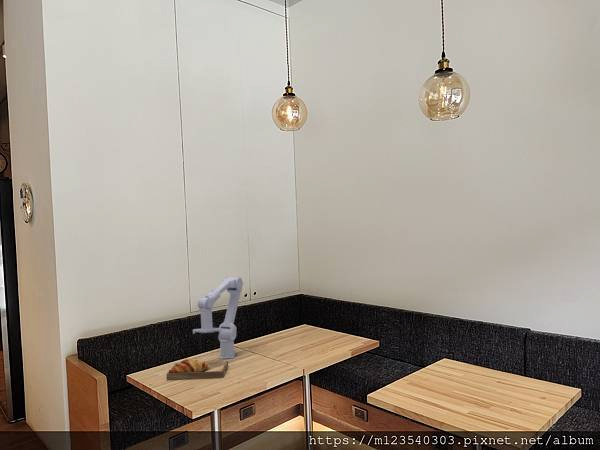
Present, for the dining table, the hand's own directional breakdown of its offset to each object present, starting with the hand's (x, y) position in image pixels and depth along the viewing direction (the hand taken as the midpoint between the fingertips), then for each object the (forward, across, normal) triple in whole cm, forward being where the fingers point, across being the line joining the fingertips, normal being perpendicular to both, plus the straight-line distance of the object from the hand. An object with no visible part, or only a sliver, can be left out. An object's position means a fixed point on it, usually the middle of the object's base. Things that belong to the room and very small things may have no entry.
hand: (207, 346), depth 231 cm
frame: (+10, -2, -12) cm, 16 cm away
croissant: (+9, -7, -12) cm, 17 cm away
